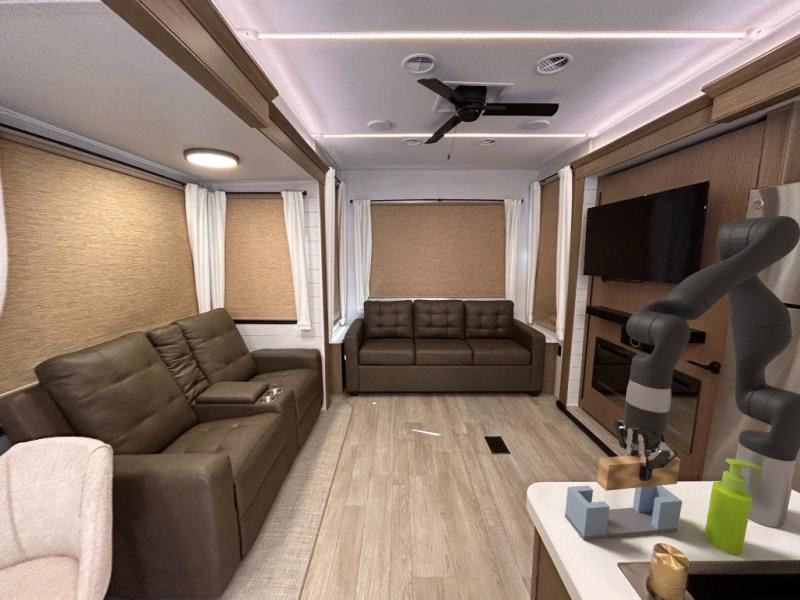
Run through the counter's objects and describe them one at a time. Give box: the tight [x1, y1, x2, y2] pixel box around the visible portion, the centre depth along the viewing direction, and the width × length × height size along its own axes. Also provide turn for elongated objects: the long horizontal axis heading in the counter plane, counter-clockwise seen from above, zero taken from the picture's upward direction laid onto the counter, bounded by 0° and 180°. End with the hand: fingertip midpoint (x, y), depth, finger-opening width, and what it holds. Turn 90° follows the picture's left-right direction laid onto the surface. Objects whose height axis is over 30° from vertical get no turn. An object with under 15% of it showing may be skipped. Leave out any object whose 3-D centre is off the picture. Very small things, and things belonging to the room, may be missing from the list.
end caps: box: [564, 485, 683, 541], centre depth 73 cm, size 24×6×8 cm, turn 97°
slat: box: [596, 454, 681, 491], centre depth 69 cm, size 18×2×6 cm, turn 98°
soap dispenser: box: [704, 458, 762, 556], centre depth 68 cm, size 6×7×20 cm
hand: (637, 474), depth 69 cm, fingers closed on slat, 2 cm apart
